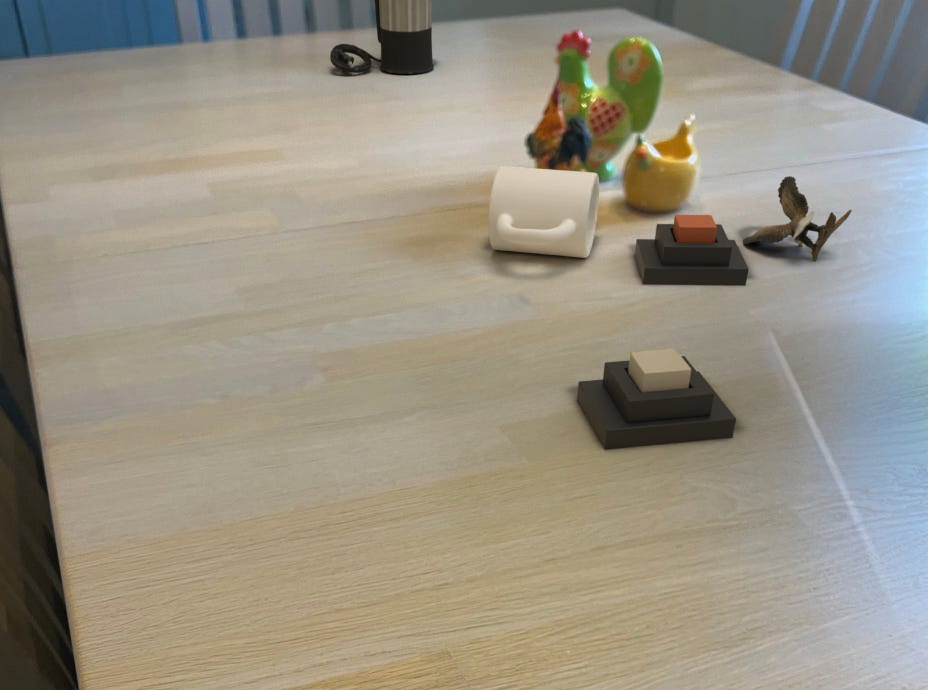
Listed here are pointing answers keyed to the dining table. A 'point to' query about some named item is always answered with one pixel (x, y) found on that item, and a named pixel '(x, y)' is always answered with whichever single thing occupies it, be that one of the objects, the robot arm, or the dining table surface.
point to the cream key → (659, 370)
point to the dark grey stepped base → (689, 260)
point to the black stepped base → (652, 411)
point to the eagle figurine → (797, 221)
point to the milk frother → (395, 39)
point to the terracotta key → (694, 229)
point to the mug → (543, 211)
